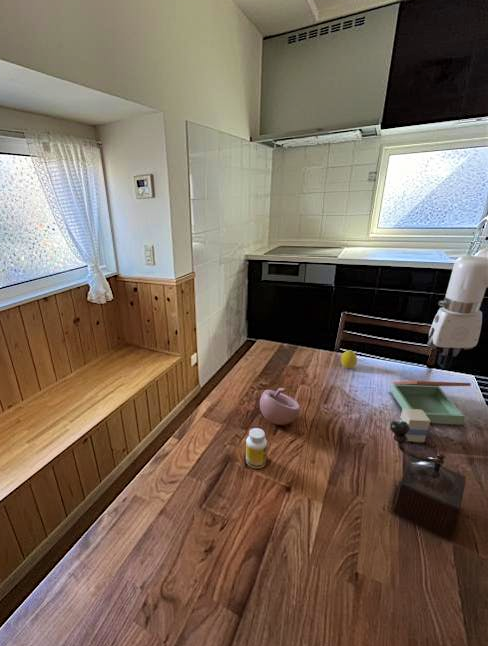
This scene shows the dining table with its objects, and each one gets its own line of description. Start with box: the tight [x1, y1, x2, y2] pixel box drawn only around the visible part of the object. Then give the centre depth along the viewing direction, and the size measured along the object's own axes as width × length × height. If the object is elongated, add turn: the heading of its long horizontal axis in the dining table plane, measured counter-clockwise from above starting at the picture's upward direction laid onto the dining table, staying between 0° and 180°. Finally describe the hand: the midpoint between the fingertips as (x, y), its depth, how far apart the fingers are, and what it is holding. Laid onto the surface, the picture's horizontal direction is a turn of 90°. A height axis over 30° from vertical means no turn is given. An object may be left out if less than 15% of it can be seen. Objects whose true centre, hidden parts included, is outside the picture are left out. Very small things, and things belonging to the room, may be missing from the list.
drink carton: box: [399, 408, 431, 443], centre depth 94 cm, size 5×5×8 cm
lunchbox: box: [391, 384, 466, 426], centre depth 105 cm, size 16×14×4 cm
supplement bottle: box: [245, 427, 268, 469], centre depth 89 cm, size 5×5×10 cm
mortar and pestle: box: [259, 387, 301, 426], centre depth 103 cm, size 12×12×11 cm
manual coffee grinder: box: [389, 419, 466, 540], centre depth 73 cm, size 16×11×18 cm
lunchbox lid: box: [393, 380, 472, 387], centre depth 103 cm, size 16×14×1 cm
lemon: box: [340, 349, 358, 370], centre depth 129 cm, size 6×6×8 cm
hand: (443, 366), depth 95 cm, fingers closed
